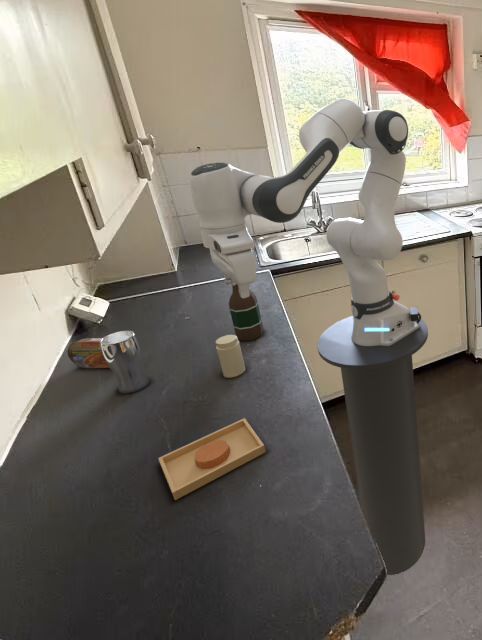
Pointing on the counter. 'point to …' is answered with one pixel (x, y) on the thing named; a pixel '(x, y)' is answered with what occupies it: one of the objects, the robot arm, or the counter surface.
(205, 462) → the lid
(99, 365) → the tin
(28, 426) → the counter surface
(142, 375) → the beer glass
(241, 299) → the beer bottle
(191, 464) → the tray
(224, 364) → the jar
